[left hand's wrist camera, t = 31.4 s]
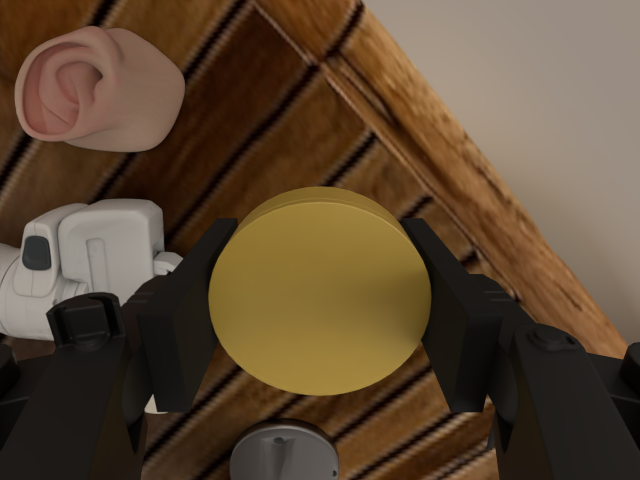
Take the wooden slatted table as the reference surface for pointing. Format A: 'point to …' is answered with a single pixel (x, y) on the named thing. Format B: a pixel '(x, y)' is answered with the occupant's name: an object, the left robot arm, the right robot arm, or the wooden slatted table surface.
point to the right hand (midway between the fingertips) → (208, 307)
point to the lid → (319, 292)
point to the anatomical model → (99, 91)
